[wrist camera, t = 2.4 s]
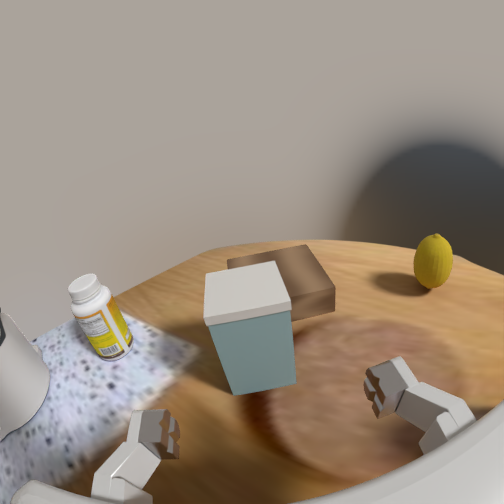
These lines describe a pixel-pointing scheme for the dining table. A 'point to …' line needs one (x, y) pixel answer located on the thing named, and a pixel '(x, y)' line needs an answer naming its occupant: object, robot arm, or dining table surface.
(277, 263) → the walnut block
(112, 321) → the supplement bottle
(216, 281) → the tea tin
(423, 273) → the lemon
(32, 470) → the dining table surface
